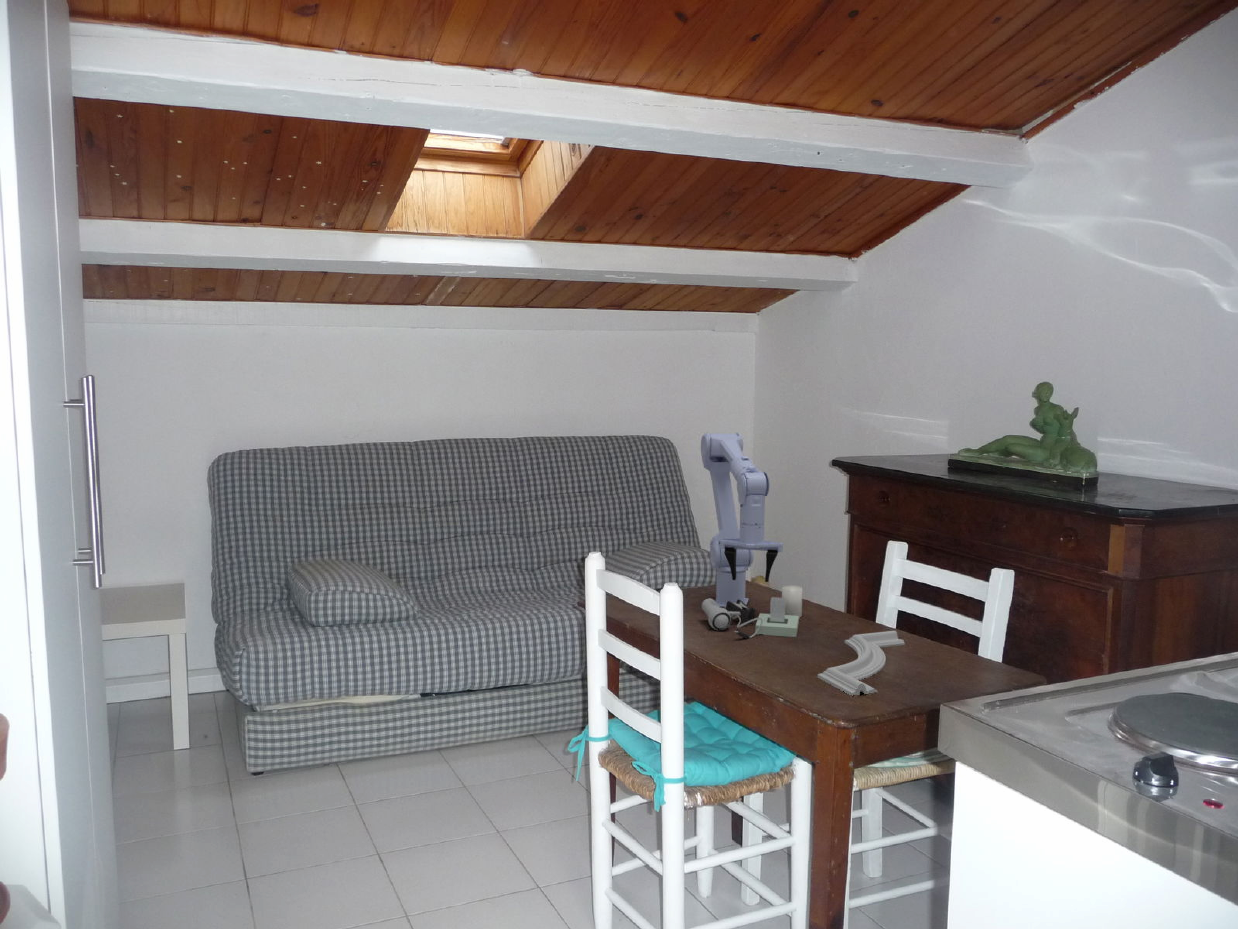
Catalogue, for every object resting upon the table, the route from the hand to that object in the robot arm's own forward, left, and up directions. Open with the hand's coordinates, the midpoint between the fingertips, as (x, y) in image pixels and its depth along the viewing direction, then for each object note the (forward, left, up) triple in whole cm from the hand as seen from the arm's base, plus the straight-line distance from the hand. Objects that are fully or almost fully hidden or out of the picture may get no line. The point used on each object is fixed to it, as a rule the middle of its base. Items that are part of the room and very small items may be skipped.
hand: (750, 580), depth 232 cm
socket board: (+7, +7, -9) cm, 14 cm away
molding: (+29, +28, -10) cm, 41 cm away
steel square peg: (+7, +7, -9) cm, 14 cm away
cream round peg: (-6, +10, -9) cm, 14 cm away
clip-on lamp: (+9, -3, -10) cm, 14 cm away
